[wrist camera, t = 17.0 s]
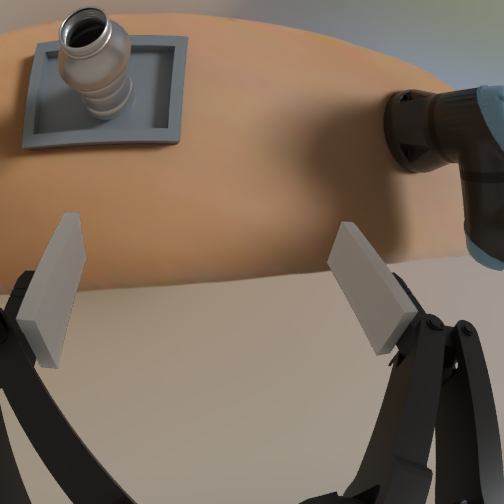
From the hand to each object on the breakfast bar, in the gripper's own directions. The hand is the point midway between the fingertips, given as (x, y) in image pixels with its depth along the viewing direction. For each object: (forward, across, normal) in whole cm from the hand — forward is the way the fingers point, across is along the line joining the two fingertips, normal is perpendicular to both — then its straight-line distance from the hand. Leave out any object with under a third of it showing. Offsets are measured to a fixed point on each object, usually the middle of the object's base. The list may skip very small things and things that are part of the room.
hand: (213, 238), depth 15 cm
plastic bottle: (+28, -11, +2) cm, 30 cm away
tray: (+29, -12, +2) cm, 32 cm away
